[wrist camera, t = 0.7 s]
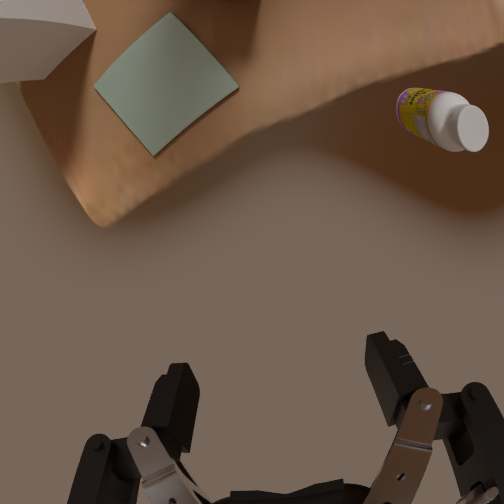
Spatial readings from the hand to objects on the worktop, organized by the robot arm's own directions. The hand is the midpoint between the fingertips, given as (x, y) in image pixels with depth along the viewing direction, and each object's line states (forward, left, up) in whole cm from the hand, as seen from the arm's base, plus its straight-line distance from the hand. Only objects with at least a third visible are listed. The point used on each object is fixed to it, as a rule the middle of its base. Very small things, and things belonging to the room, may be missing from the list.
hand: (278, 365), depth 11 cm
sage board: (-18, -3, -27) cm, 33 cm away
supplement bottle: (+3, +22, -28) cm, 35 cm away
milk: (-39, -9, -28) cm, 49 cm away
